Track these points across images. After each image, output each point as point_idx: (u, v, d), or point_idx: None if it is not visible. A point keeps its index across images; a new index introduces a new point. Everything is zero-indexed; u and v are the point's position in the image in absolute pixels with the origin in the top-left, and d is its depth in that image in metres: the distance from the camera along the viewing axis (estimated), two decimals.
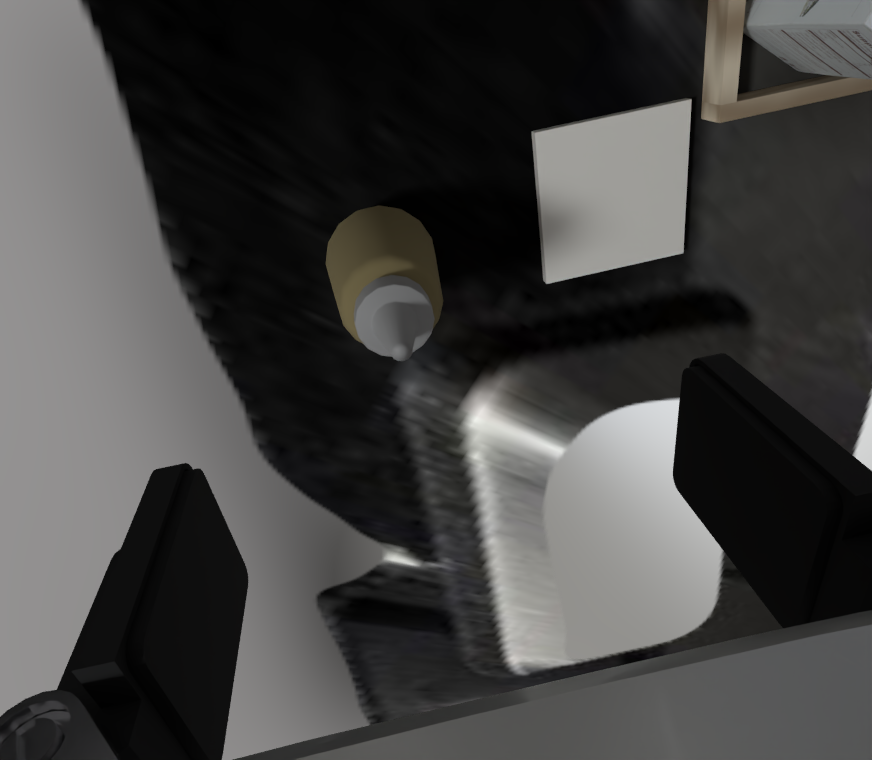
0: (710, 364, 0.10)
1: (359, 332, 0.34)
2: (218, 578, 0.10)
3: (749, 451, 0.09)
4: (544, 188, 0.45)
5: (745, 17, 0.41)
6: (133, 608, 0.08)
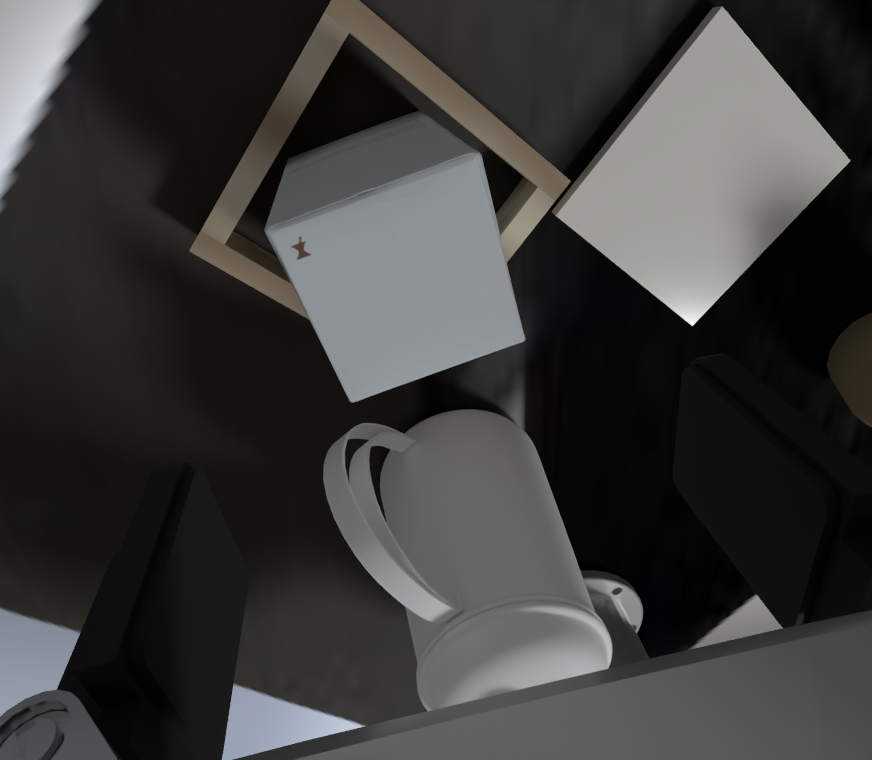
0: (710, 364, 0.10)
1: None
2: (218, 578, 0.10)
3: (749, 451, 0.09)
4: (738, 269, 0.35)
5: None
6: (133, 608, 0.08)
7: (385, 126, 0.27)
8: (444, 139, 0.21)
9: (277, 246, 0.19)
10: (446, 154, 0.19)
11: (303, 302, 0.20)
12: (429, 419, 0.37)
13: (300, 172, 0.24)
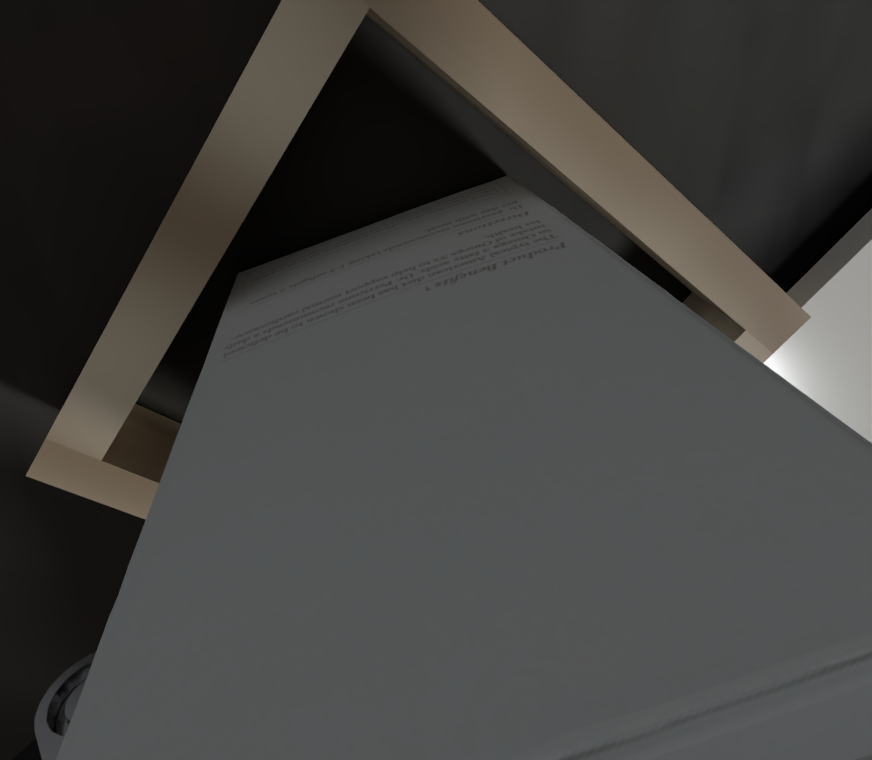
0: None
1: None
2: None
3: None
4: None
5: None
6: None
7: (445, 219, 0.12)
8: (711, 364, 0.06)
9: None
10: (840, 531, 0.04)
11: None
12: None
13: (246, 362, 0.10)
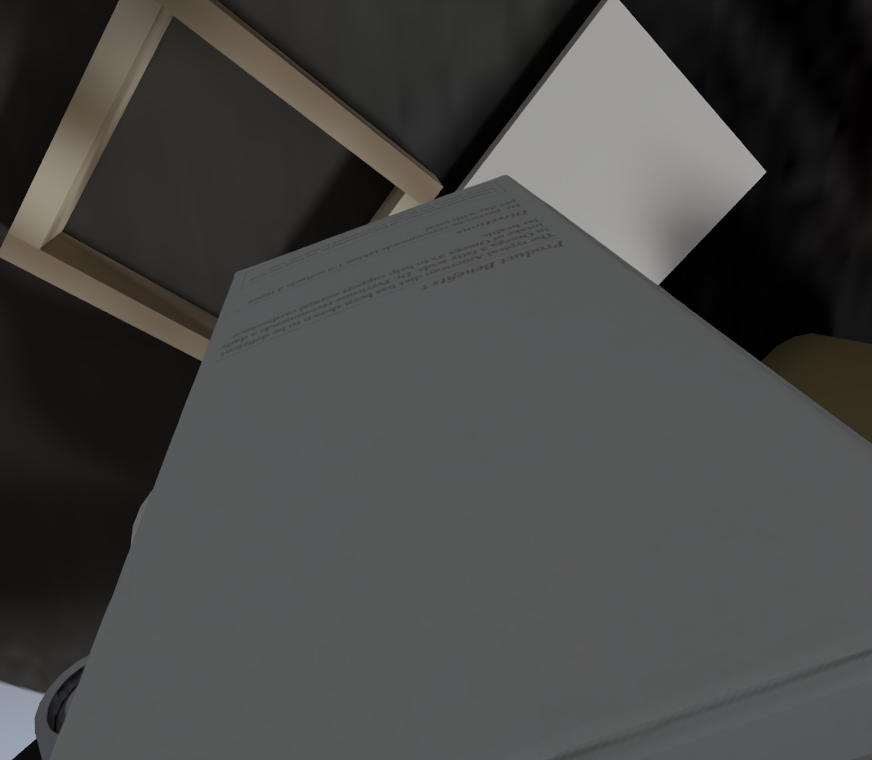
0: None
1: None
2: None
3: None
4: None
5: None
6: None
7: (443, 218, 0.12)
8: (708, 362, 0.06)
9: None
10: (835, 528, 0.04)
11: None
12: None
13: (243, 361, 0.10)
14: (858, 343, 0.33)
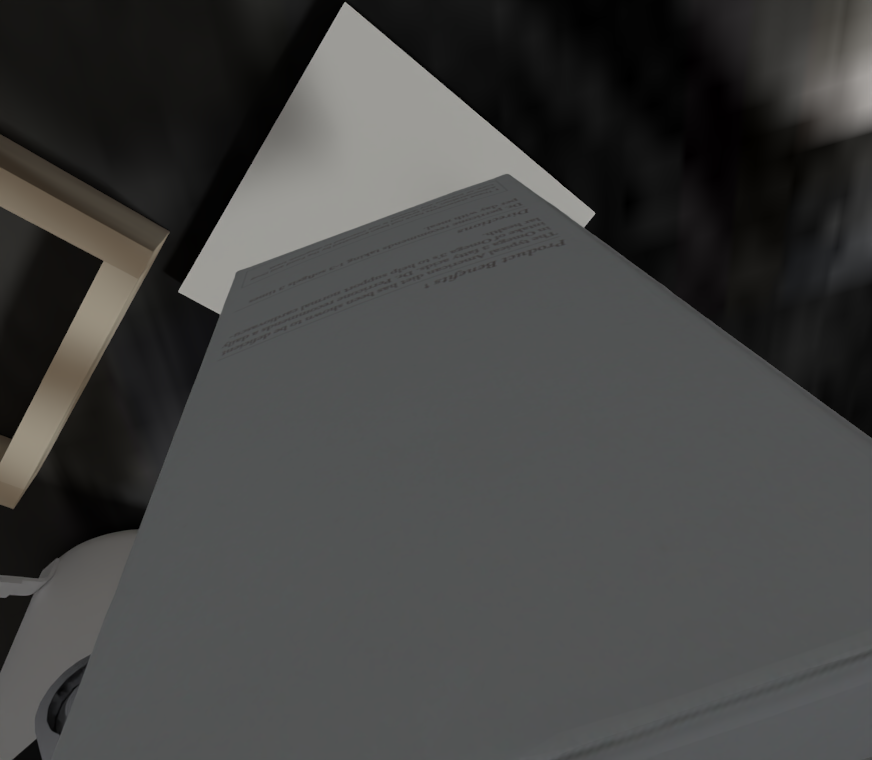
0: None
1: None
2: None
3: None
4: None
5: None
6: None
7: (444, 217, 0.12)
8: (712, 360, 0.06)
9: None
10: (841, 527, 0.04)
11: None
12: (81, 545, 0.28)
13: (245, 360, 0.10)
14: None
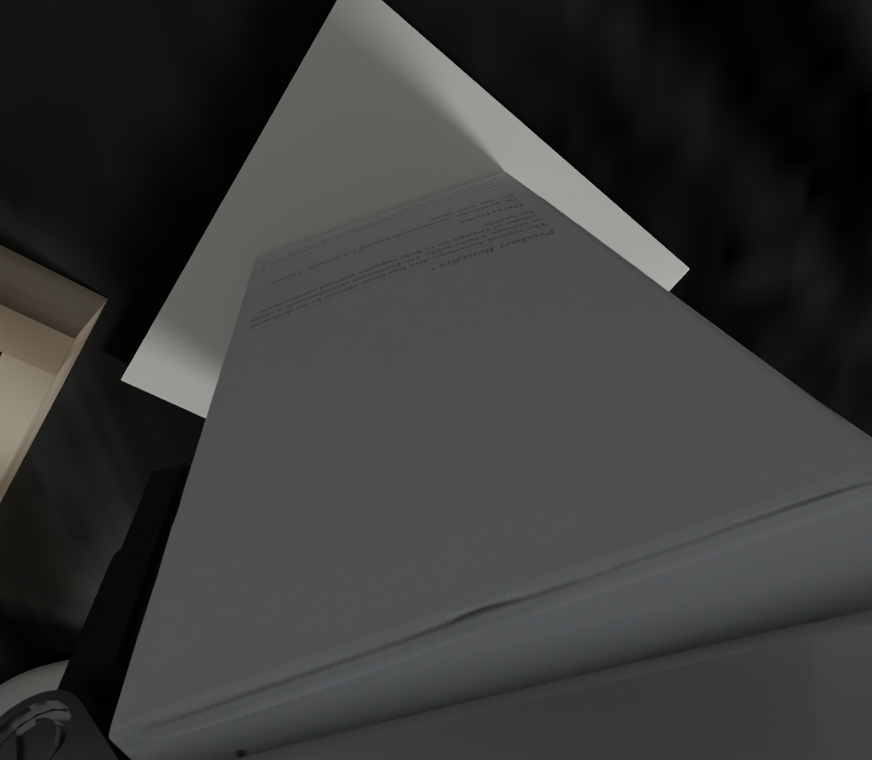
0: None
1: None
2: None
3: None
4: None
5: None
6: (133, 608, 0.08)
7: (447, 209, 0.14)
8: (669, 323, 0.07)
9: None
10: (753, 437, 0.06)
11: None
12: (11, 683, 0.22)
13: (272, 332, 0.11)
14: None
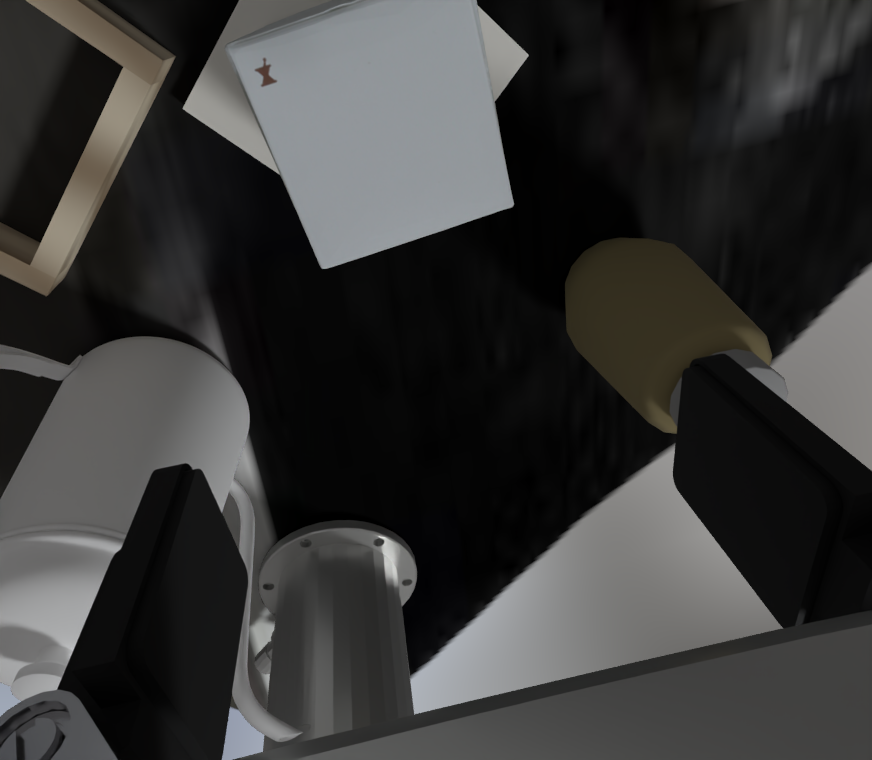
0: (710, 364, 0.10)
1: None
2: (218, 578, 0.10)
3: (749, 451, 0.09)
4: None
5: None
6: (133, 608, 0.08)
7: None
8: None
9: (238, 68, 0.17)
10: None
11: (268, 141, 0.18)
12: (100, 346, 0.34)
13: (273, 23, 0.22)
14: (645, 239, 0.32)
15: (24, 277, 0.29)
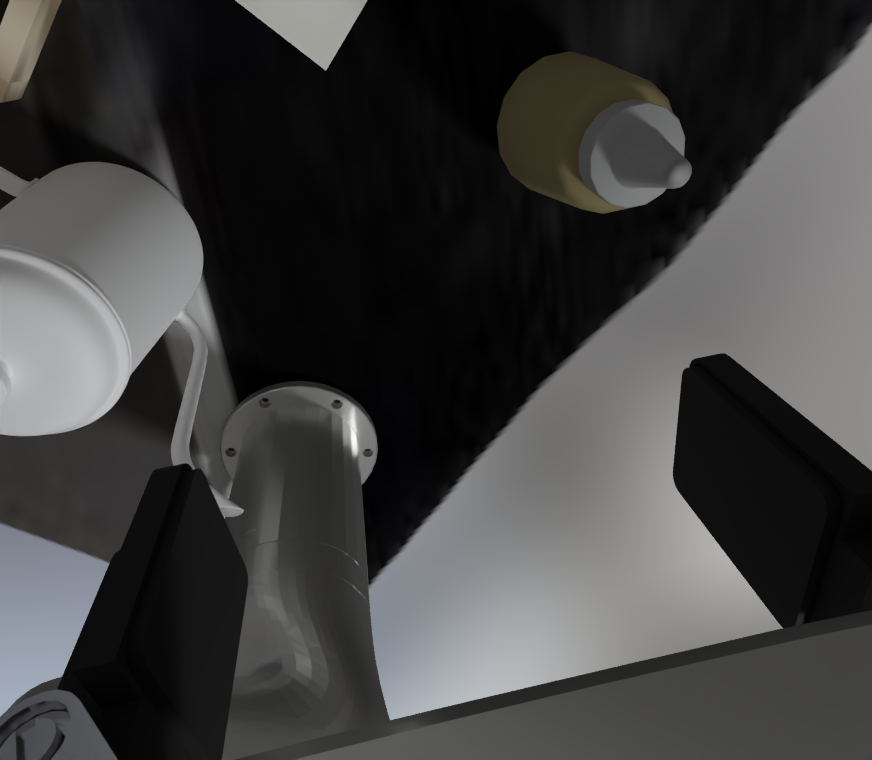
0: (710, 364, 0.10)
1: None
2: (218, 578, 0.10)
3: (749, 451, 0.09)
4: (357, 0, 0.34)
5: None
6: (133, 608, 0.08)
7: None
8: None
9: None
10: None
11: None
12: (56, 170, 0.36)
13: None
14: (566, 52, 0.34)
15: None
